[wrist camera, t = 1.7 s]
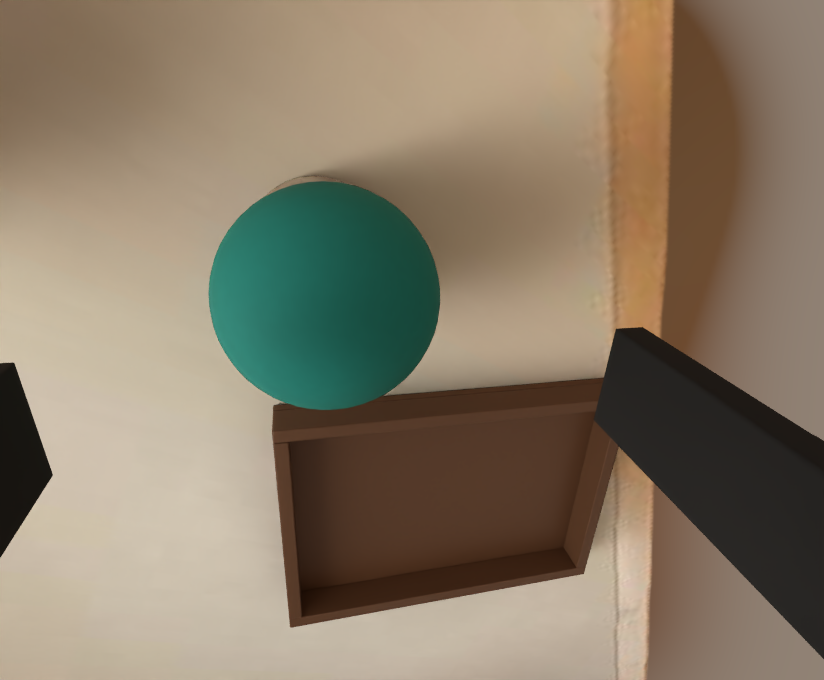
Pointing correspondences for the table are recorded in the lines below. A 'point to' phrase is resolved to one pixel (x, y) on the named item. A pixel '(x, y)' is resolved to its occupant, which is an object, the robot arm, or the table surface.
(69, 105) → the table surface
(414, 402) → the tray
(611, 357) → the robot arm
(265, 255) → the ball
